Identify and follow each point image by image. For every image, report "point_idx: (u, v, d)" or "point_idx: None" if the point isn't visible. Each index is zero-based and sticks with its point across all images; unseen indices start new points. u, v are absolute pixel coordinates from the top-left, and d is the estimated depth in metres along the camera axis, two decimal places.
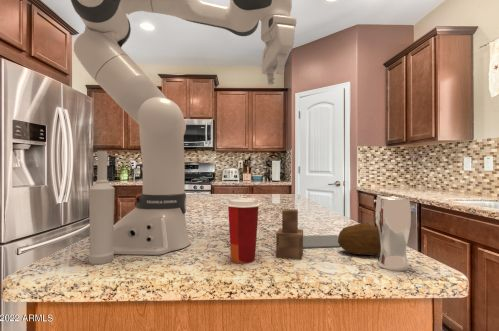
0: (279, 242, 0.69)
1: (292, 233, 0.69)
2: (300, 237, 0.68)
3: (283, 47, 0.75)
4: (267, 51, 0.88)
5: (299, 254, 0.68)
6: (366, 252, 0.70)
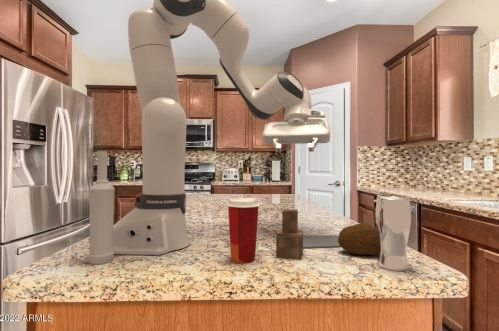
0: (279, 242, 0.69)
1: (292, 233, 0.69)
2: (300, 237, 0.68)
3: (329, 136, 0.85)
4: (283, 126, 0.91)
5: (299, 254, 0.68)
6: (366, 252, 0.70)
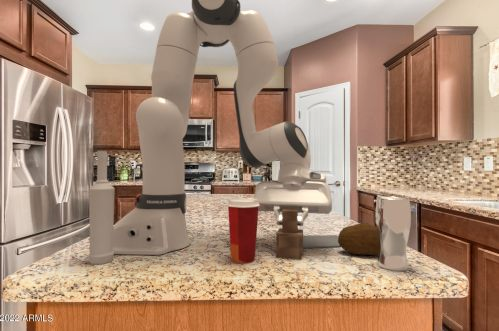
0: (279, 242, 0.69)
1: (292, 233, 0.69)
2: (300, 237, 0.68)
3: (330, 207, 0.72)
4: (278, 189, 0.78)
5: (299, 254, 0.68)
6: (366, 252, 0.70)
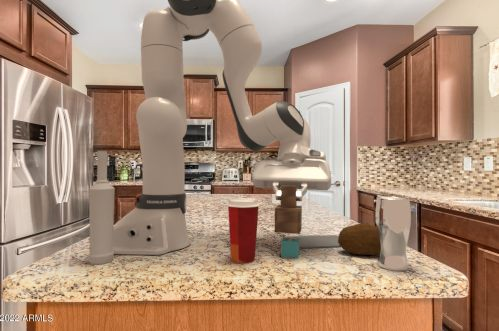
0: (277, 217, 0.69)
1: (291, 208, 0.69)
2: (299, 211, 0.68)
3: (329, 183, 0.72)
4: (277, 166, 0.78)
5: (297, 228, 0.68)
6: (366, 252, 0.70)
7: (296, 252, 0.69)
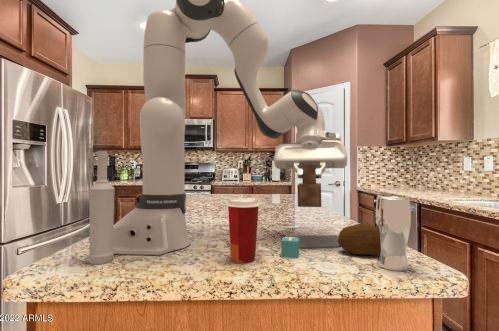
0: (300, 192, 0.77)
1: (312, 184, 0.76)
2: (319, 187, 0.75)
3: (346, 161, 0.79)
4: (296, 149, 0.85)
5: (319, 202, 0.75)
6: (366, 252, 0.70)
7: (296, 252, 0.69)
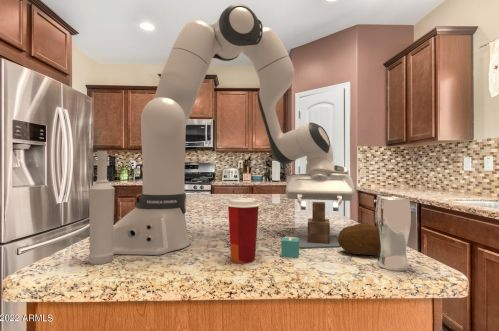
0: (310, 229, 0.82)
1: (321, 222, 0.82)
2: (328, 225, 0.81)
3: (353, 194, 0.85)
4: (307, 180, 0.90)
5: (327, 239, 0.81)
6: (366, 252, 0.70)
7: (296, 252, 0.69)
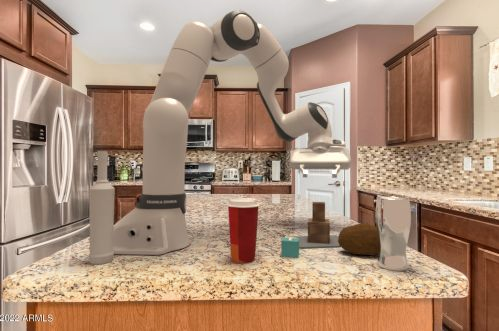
0: (310, 229, 0.82)
1: (321, 222, 0.82)
2: (328, 225, 0.81)
3: (350, 163, 0.96)
4: (308, 153, 1.02)
5: (327, 239, 0.81)
6: (366, 252, 0.70)
7: (296, 252, 0.69)
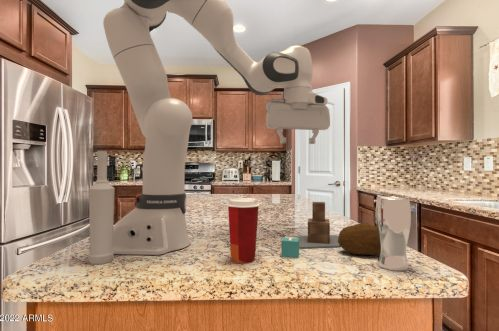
0: (310, 229, 0.82)
1: (321, 222, 0.82)
2: (328, 225, 0.81)
3: None
4: (287, 111, 0.90)
5: (327, 239, 0.81)
6: (366, 252, 0.70)
7: (296, 252, 0.69)
